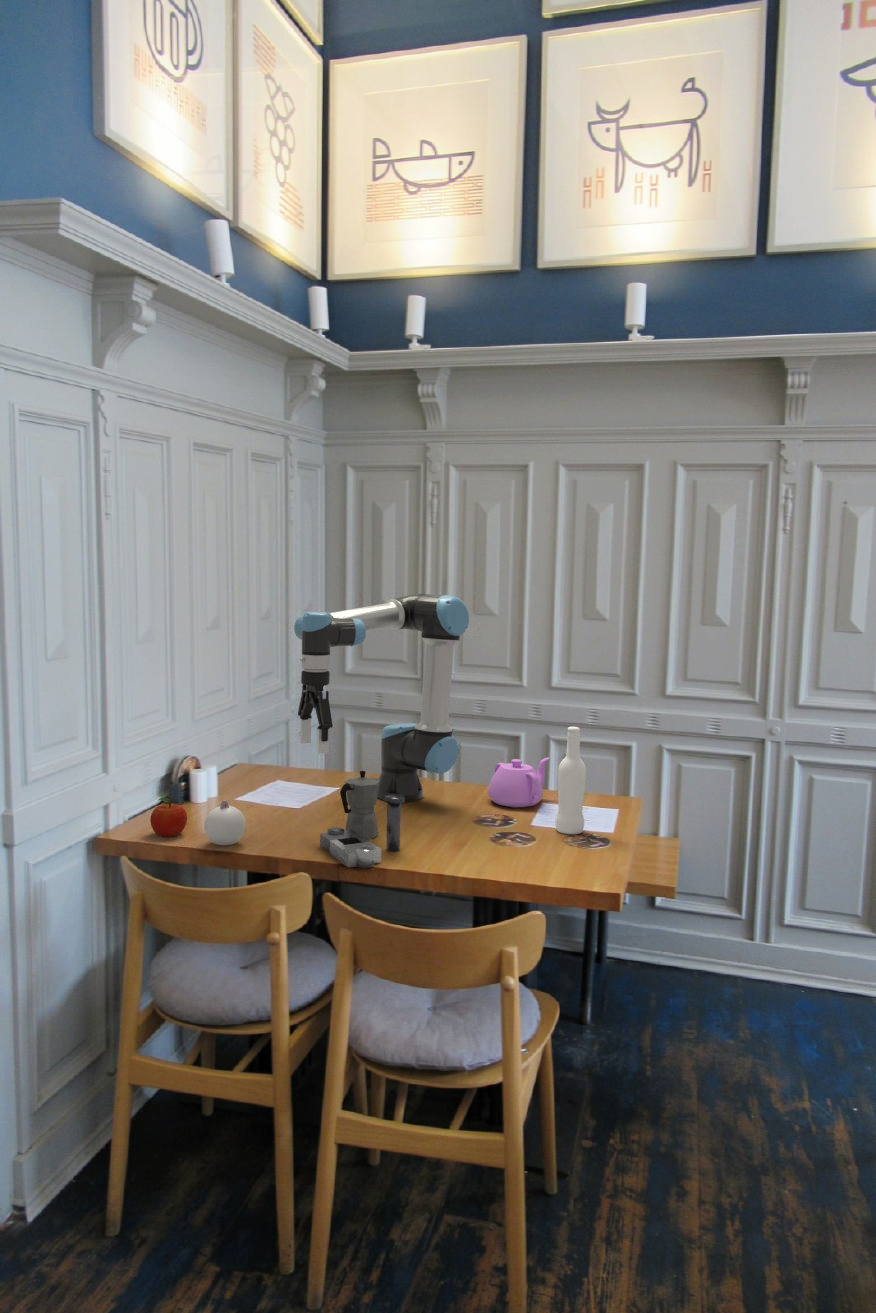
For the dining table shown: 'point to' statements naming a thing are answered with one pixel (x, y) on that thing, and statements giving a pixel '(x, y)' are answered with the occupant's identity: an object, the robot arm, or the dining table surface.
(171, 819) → the fruit
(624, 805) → the dining table surface
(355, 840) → the grey slotted block
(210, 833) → the ornament
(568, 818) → the bottle
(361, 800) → the coffeepot
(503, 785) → the teapot
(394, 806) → the pin
